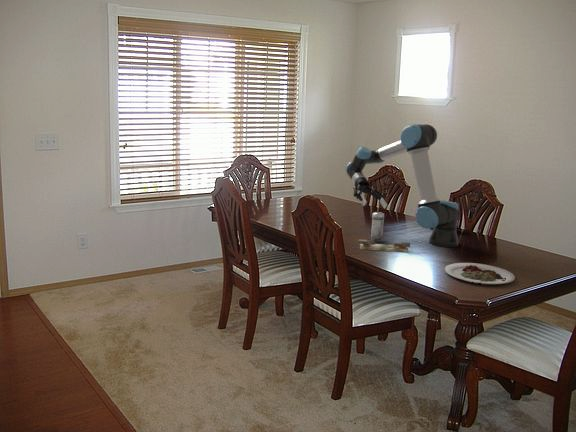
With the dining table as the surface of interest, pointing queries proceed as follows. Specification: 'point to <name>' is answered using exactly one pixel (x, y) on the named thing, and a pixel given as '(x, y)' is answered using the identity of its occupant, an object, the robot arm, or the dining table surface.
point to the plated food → (479, 273)
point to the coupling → (377, 226)
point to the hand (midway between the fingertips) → (375, 205)
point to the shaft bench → (384, 246)
